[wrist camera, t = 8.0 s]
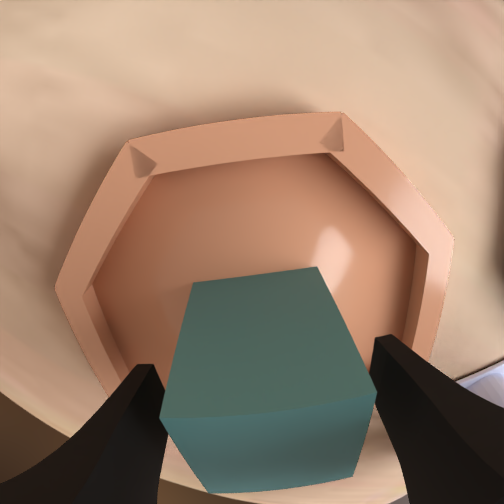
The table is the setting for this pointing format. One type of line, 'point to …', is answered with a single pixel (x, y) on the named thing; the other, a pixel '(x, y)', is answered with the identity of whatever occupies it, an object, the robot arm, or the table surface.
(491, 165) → the table surface
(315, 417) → the teal block
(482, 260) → the table surface
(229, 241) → the terracotta dish
